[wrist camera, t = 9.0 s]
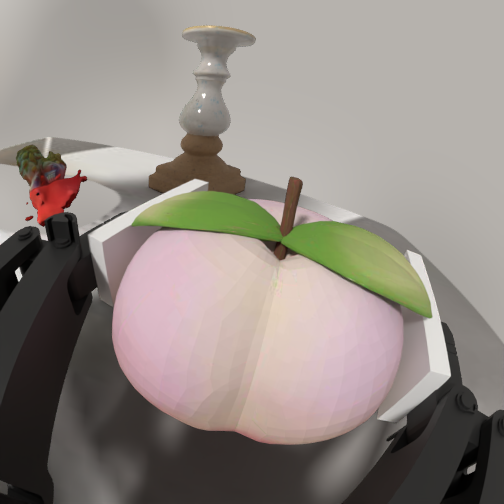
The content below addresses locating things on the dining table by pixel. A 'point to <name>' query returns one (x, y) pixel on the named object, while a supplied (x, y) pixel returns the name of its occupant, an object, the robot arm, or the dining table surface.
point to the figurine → (47, 182)
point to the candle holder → (205, 117)
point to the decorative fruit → (262, 317)
